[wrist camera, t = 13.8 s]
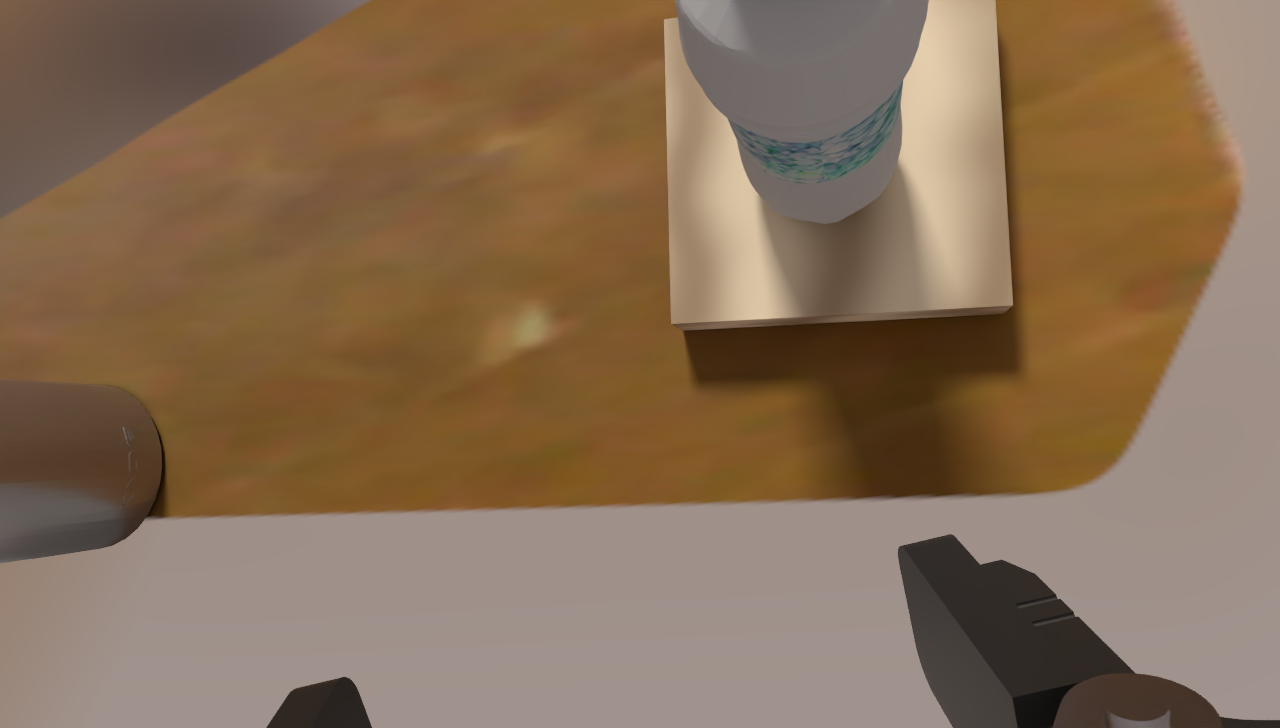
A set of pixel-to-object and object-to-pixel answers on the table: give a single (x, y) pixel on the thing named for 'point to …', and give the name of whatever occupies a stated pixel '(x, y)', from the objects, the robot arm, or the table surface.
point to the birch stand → (869, 238)
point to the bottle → (807, 93)
